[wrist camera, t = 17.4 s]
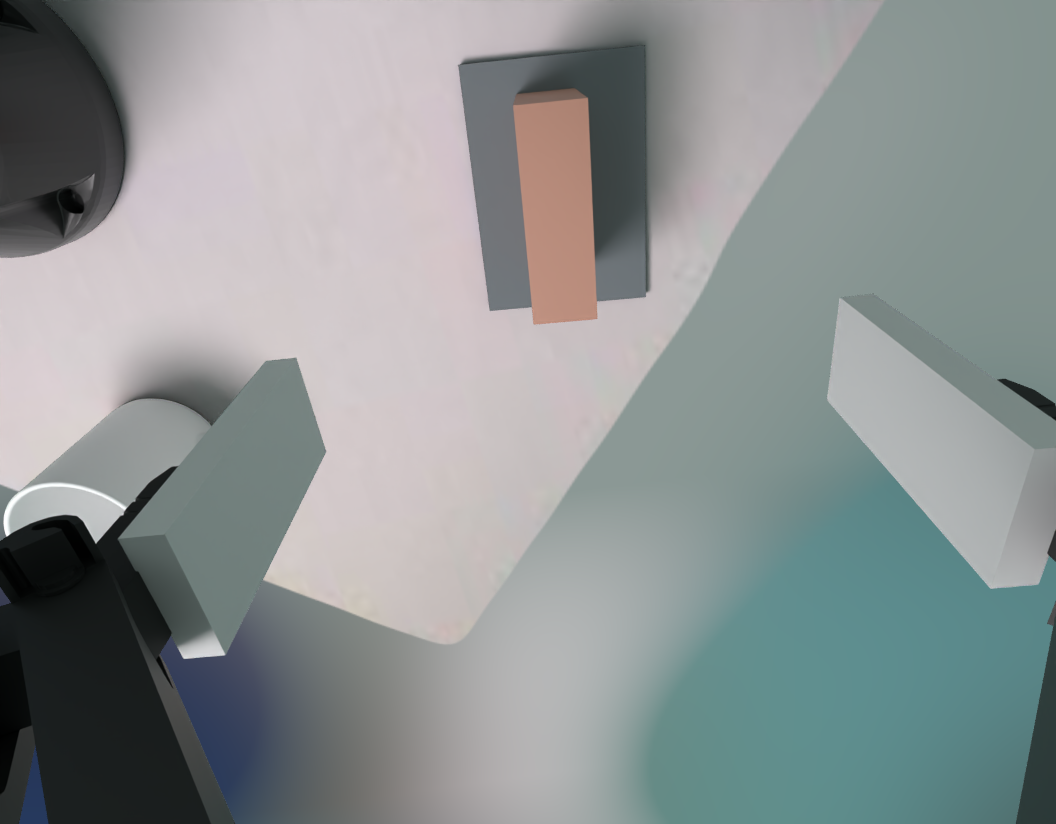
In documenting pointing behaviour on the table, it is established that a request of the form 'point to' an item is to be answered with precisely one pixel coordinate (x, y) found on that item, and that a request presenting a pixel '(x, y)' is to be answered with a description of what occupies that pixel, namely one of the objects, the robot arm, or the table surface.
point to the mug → (109, 466)
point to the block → (557, 203)
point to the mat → (614, 165)
